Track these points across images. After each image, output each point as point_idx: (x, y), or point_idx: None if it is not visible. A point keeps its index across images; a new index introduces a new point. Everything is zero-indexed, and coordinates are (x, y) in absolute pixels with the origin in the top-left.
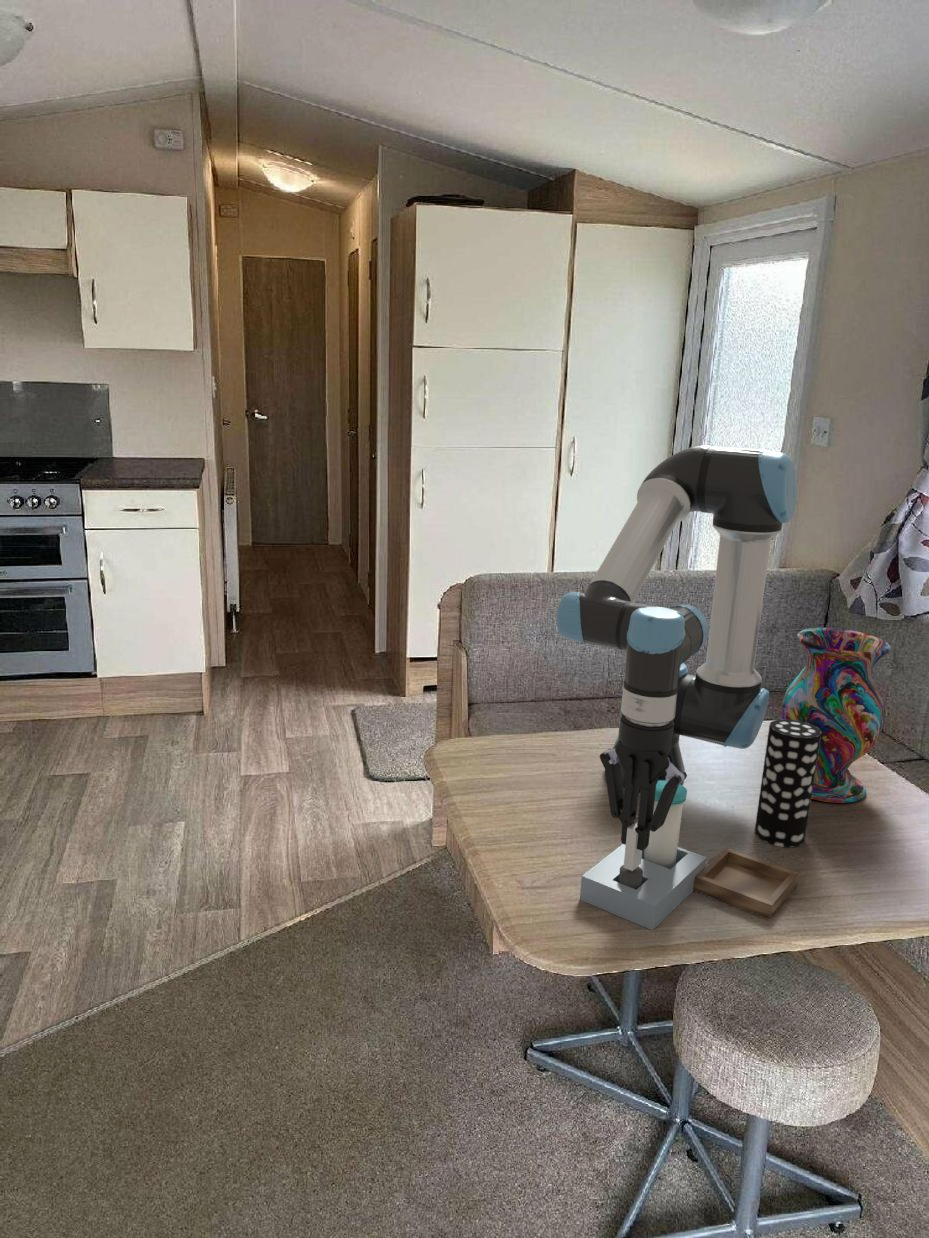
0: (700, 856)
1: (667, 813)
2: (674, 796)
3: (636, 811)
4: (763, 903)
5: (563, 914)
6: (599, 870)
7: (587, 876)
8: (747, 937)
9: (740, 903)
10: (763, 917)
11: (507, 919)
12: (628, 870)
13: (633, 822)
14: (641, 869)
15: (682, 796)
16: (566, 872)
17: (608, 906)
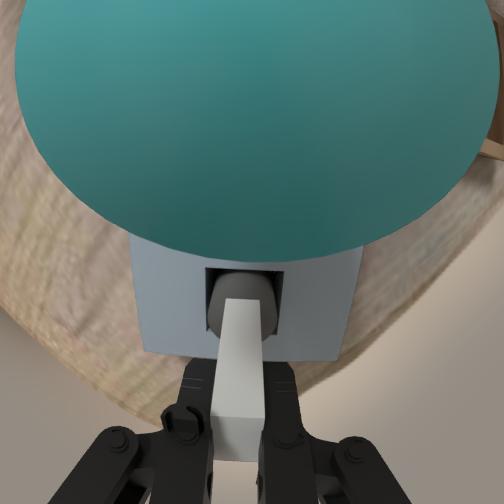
0: None
1: (404, 500)
2: (440, 167)
3: (206, 470)
4: (498, 158)
5: (169, 367)
6: (157, 310)
7: (154, 348)
8: (469, 237)
9: None
10: (482, 155)
11: (124, 405)
12: None
13: (212, 437)
14: (265, 297)
15: (492, 102)
16: (82, 243)
17: None
